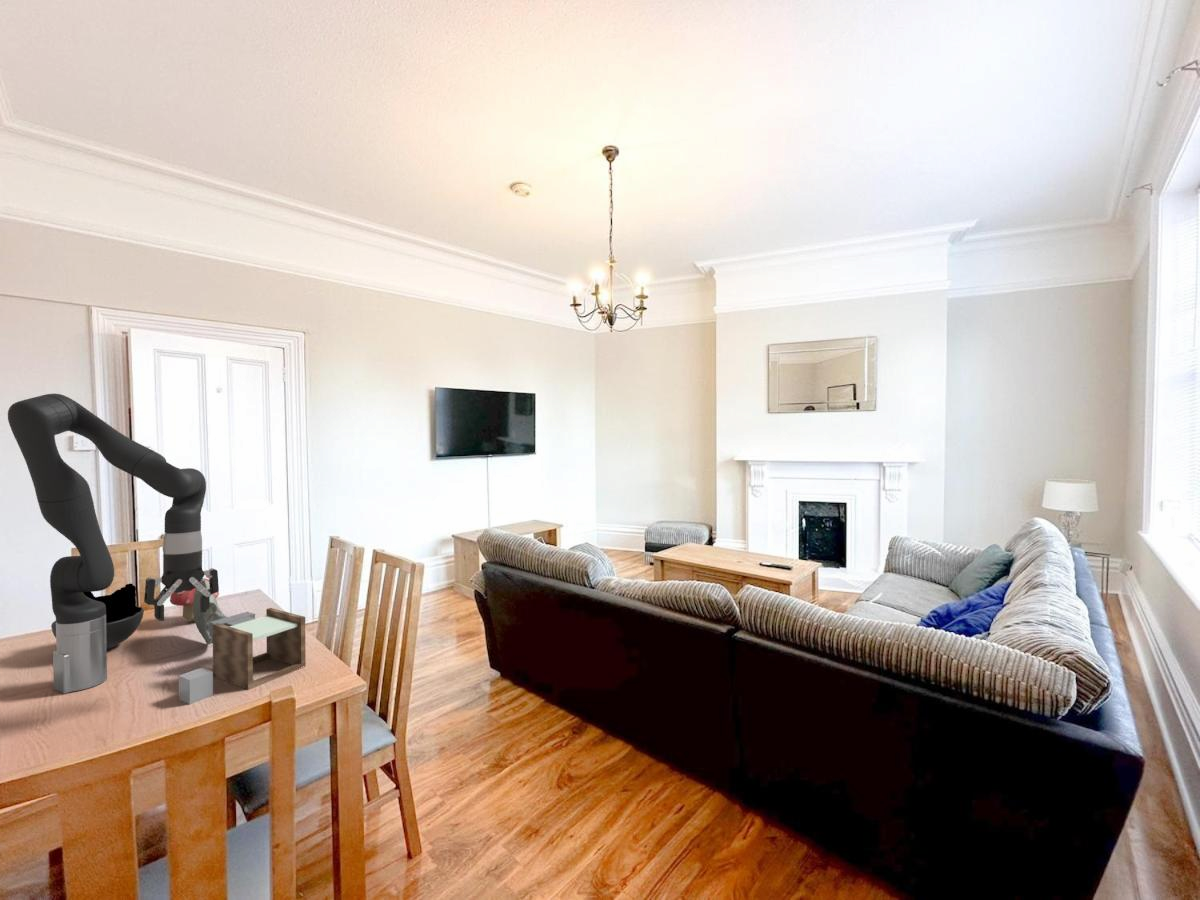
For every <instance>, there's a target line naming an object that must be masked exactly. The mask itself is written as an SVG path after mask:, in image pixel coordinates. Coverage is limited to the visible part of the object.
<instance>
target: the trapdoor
mask: <svg viewBox="0 0 1200 900" xmlns="http://www.w3.org/2000/svg"><path fill="white" fill-rule="evenodd" d="M215 623H219V624H223V625H226V626H229V627H232V628H236V629H239V630H242V631H245V632H249V633H252V634H253V642H255V641H258V640H261V639H264V638H265V639H266V638H267V637H268V636H271V635H274V634H277V633H280V632H283V631H286V630H289V629H292V628H295V627H297V624H296V623H292V622H289V621H285V620H281V619H278V618H274V617H270V616H266V615H264V616H261V617H257V618H256V613H253V612H249V611H245V612H240V613H237V614H234V615H230V616H227V617H226V618H223V619H219V620H215V621H212V622H209V636H210V637H213V624H215Z"/></svg>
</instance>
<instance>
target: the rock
mask: <svg viewBox="0 0 1200 900" xmlns="http://www.w3.org/2000/svg"><path fill="white" fill-rule="evenodd" d="M204 578H205V577H203V578H202V579H201V581H200V582H199V583H200V584H201V585H203V586H204V587H205V589H207V590H208V589H210V585H209V582H208V581H207V580H205V579H204ZM201 596H202V594H201V593H200V592H198V591H197V590H196V589H195V593H194V599H193V612H194V620H195V625H196V628H197V630H198V632H199V634H200V635H201V636H202V638H203V639H204V642H205V643H206V645H211V644H213V637H210V636H209V622H212V621H215V620H219V619H223V618H226V617H228V616H227V615H225V614H224V613H223V612H222V610H221V608H220V607H219V604H218V602H217V598H215V595H214V594H212V595H210V604H209V605H210V607H209V609H207V612H201V610H200V597H201Z"/></svg>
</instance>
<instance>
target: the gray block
mask: <svg viewBox="0 0 1200 900" xmlns="http://www.w3.org/2000/svg"><path fill="white" fill-rule="evenodd" d="M212 696H214V676H213V670H212V671H211V670H208V669H207V668H203V667H200V668H197V669H194V670H192V671H188V672H186V673H183V674H180V675H178V700H179V701H181V702H183V703H186V704H188V705H192V704H195V703H198V702H200V701H203V700H206V699H208V698H210V697H212Z"/></svg>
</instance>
